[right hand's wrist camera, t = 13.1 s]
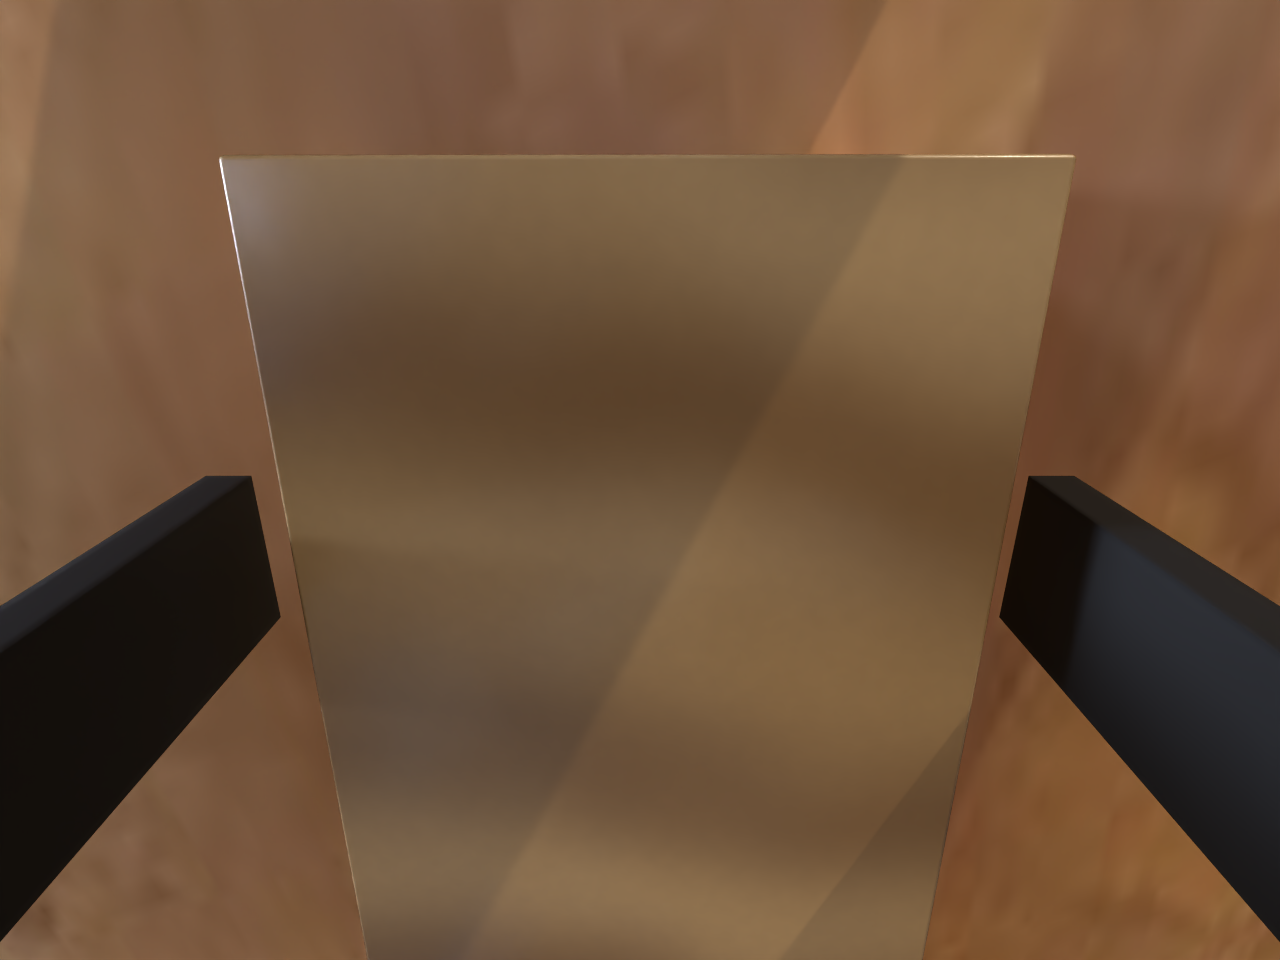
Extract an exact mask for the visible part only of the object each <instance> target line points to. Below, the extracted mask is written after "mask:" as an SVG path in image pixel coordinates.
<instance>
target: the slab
mask: <svg viewBox="0 0 1280 960" xmlns="http://www.w3.org/2000/svg"><path fill="white" fill-rule="evenodd" d="M219 162H220V167H221V173H222V178H223V184H224V189H225V194H226V200H227V205H228V210H229V216H230V221H231V227H232V232H233V237H234V243H235V248H236V254H237V259H238V264H239V270H240V275H241V280H242V286H243V291H244V297H245V302H246V307H247V313H248V318H249V324H250V329H251V334H252V340H253V345H254V351H255V356H256V361H257V367H258V372H259V377H260V383H261V388H262V394H263V399H264V404H265V410H266V415H267V421H268V426H269V431H270V437H271V442H272V447H273V453H274V458H275V464H276V469H277V474H278V480H279V485H280V491H281V496H282V501H283V507H284V512H285V517H286V523H287V528H288V534H289V539H290V544H291V550H292V555H293V561H294V566H295V571H296V577H297V582H298V588H299V593H300V598H301V604H302V609H303V614H304V620H305V625H306V631H307V636H308V641H309V647H310V652H311V658H312V663H313V668H314V674H315V679H316V684H317V690H318V695H319V701H320V706H321V711H322V717H323V722H324V728H325V733H326V738H327V744H328V749H329V754H330V760H331V765H332V771H333V776H334V781H335V787H336V792H337V798H338V803H339V808H340V814H341V819H342V824H343V830H344V835H345V841H346V846H347V851H348V857H349V862H350V868H351V873H352V878H353V884H354V889H355V895H356V900H357V905H358V911H359V916H360V921H361V927H362V932H363V938H364V943H365V948H366V954H367V959H368V960H923V955H924V950H925V944H926V939H927V934H928V929H929V923H930V918H931V913H932V908H933V903H934V897H935V892H936V887H937V882H938V877H939V871H940V866H941V861H942V856H943V850H944V845H945V840H946V835H947V830H948V824H949V819H950V814H951V809H952V803H953V798H954V793H955V788H956V783H957V777H958V772H959V767H960V762H961V757H962V751H963V746H964V741H965V736H966V730H967V725H968V720H969V715H970V710H971V704H972V699H973V694H974V689H975V683H976V678H977V673H978V668H979V663H980V657H981V652H982V647H983V642H984V637H985V631H986V626H987V621H988V616H989V610H990V605H991V600H992V595H993V590H994V584H995V579H996V574H997V569H998V563H999V558H1000V553H1001V548H1002V543H1003V537H1004V532H1005V527H1006V522H1007V517H1008V511H1009V506H1010V501H1011V496H1012V490H1013V485H1014V480H1015V475H1016V470H1017V464H1018V459H1019V454H1020V449H1021V443H1022V438H1023V433H1024V428H1025V423H1026V417H1027V412H1028V407H1029V402H1030V397H1031V391H1032V386H1033V381H1034V376H1035V370H1036V365H1037V360H1038V355H1039V350H1040V344H1041V339H1042V334H1043V329H1044V323H1045V318H1046V313H1047V308H1048V303H1049V297H1050V292H1051V287H1052V282H1053V277H1054V271H1055V266H1056V261H1057V256H1058V250H1059V245H1060V240H1061V235H1062V230H1063V224H1064V219H1065V214H1066V209H1067V203H1068V198H1069V193H1070V188H1071V183H1072V177H1073V172H1074V167H1075V162H1076V156H1074V155H1072V154H701V155H223V156H221V157H220V158H219Z"/></svg>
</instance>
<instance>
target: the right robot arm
mask: <svg viewBox="0 0 1280 960" xmlns="http://www.w3.org/2000/svg"><path fill="white" fill-rule="evenodd" d="M280 617H281V616H280V612H279V607H278V602H277V597H276V592H275V588H274V583H273V578H272V573H271V568H270V564H269V559H268V554H267V549H266V544H265V540H264V535H263V530H262V525H261V520H260V516H259V511H258V506H257V501H256V496H255V492H254V487H253V482H252V477H251V476H205V477H203V478H202V479H200V480H199V481H197V482H196V483H194V484H192V485H191V486H189V487H188V488H186V489H185V490H183V491H181V492H180V493H178V494H177V495H175V496H173V497H172V498H170V499H169V500H167V501H166V502H164V503H162V504H161V505H159V506H158V507H156V508H155V509H153V510H151V511H150V512H148V513H147V514H145V515H143V516H142V517H140V518H139V519H137V520H136V521H134V522H132V523H131V524H129V525H128V526H126V527H125V528H123V529H121V530H120V531H118V532H117V533H115V534H113V535H112V536H110V537H109V538H107V539H106V540H104V541H102V542H101V543H99V544H98V545H96V546H95V547H93V548H91V549H90V550H88V551H87V552H85V553H83V554H82V555H80V556H79V557H77V558H76V559H74V560H72V561H71V562H69V563H68V564H66V565H65V566H63V567H61V568H60V569H58V570H57V571H55V572H54V573H52V574H50V575H49V576H47V577H46V578H44V579H42V580H41V581H39V582H38V583H36V584H35V585H33V586H31V587H30V588H28V589H27V590H25V591H24V592H22V593H20V594H19V595H17V596H16V597H14V598H12V599H11V600H9V601H8V602H6V603H5V604H3V605H1V606H0V942H1V940H2V939H3V938H4V937H5V936H6V935H7V933H8V932H9V931H10V930H11V929H12V928H13V926H14V925H15V924H16V923H17V922H18V921H19V920H20V918H21V917H22V916H23V915H24V914H25V913H26V911H27V910H28V909H29V908H30V907H31V906H32V904H33V903H34V902H35V901H36V900H37V899H38V898H39V896H40V895H41V894H42V893H43V892H44V891H45V889H46V888H47V887H48V886H49V885H50V884H51V882H52V881H53V880H54V879H55V878H56V877H57V876H58V874H59V873H60V872H61V871H62V870H63V869H64V867H65V866H66V865H67V864H68V863H69V862H70V860H71V859H72V858H73V857H74V856H75V855H76V854H77V852H78V851H79V850H80V849H81V848H82V847H83V845H84V844H85V843H86V842H87V841H88V840H89V838H90V837H91V836H92V835H93V834H94V833H95V831H96V830H97V829H98V828H99V827H100V826H101V825H102V823H103V822H104V821H105V820H106V819H107V818H108V816H109V815H110V814H111V813H112V812H113V811H114V809H115V808H116V807H117V806H118V805H119V804H120V803H121V801H122V800H123V799H124V798H125V797H126V796H127V794H128V793H129V792H130V791H131V790H132V789H133V787H134V786H135V785H136V784H137V783H138V782H139V781H140V779H141V778H142V777H143V776H144V775H145V774H146V772H147V771H148V770H149V769H150V768H151V767H152V765H153V764H154V763H155V762H156V761H157V760H158V759H159V757H160V756H161V755H162V754H163V753H164V752H165V750H166V749H167V748H168V747H169V746H170V745H171V743H172V742H173V741H174V740H175V739H176V738H177V737H178V735H179V734H180V733H181V732H182V731H183V730H184V728H185V727H186V726H187V725H188V724H189V723H190V721H191V720H192V719H193V718H194V717H195V716H196V715H197V713H198V712H199V711H200V710H201V709H202V708H203V706H204V705H205V704H206V703H207V702H208V701H209V699H210V698H211V697H212V696H213V695H214V694H215V693H216V691H217V690H218V689H219V688H220V687H221V686H222V684H223V683H224V682H225V681H226V680H227V679H228V677H229V676H230V675H231V674H232V673H233V672H234V671H235V669H236V668H237V667H238V666H239V665H240V664H241V662H242V661H243V660H244V659H245V658H246V657H247V655H248V654H249V653H250V652H251V651H252V650H253V649H254V647H255V646H256V645H257V644H258V643H259V642H260V640H261V639H262V638H263V637H264V636H265V635H266V633H267V632H268V631H269V630H270V629H271V628H272V627H273V625H274V624H275V623H276V622H277V621H278V620H279V618H280ZM999 617H1000V618H1001V620H1002V621H1003V622H1004V623H1005V624H1006V625H1007V627H1008V628H1009V629H1010V630H1011V631H1012V632H1013V633H1014V635H1015V636H1016V637H1017V638H1018V639H1019V640H1020V642H1021V643H1022V644H1023V645H1024V646H1025V647H1026V649H1027V650H1028V651H1029V652H1030V653H1031V654H1032V655H1033V657H1034V658H1035V659H1036V660H1037V661H1038V662H1039V664H1040V665H1041V666H1042V667H1043V668H1044V669H1045V671H1046V672H1047V673H1048V674H1049V675H1050V676H1051V677H1052V679H1053V680H1054V681H1055V682H1056V683H1057V684H1058V686H1059V687H1060V688H1061V689H1062V690H1063V691H1064V693H1065V694H1066V695H1067V696H1068V697H1069V698H1070V699H1071V701H1072V702H1073V703H1074V704H1075V705H1076V706H1077V708H1078V709H1079V710H1080V711H1081V712H1082V713H1083V715H1084V716H1085V717H1086V718H1087V719H1088V720H1089V721H1090V723H1091V724H1092V725H1093V726H1094V727H1095V728H1096V730H1097V731H1098V732H1099V733H1100V734H1101V735H1102V737H1103V738H1104V739H1105V740H1106V741H1107V742H1108V743H1109V745H1110V746H1111V747H1112V748H1113V749H1114V750H1115V752H1116V753H1117V754H1118V755H1119V756H1120V757H1121V759H1122V760H1123V761H1124V762H1125V763H1126V764H1127V765H1128V767H1129V768H1130V769H1131V770H1132V771H1133V772H1134V774H1135V775H1136V776H1137V777H1138V778H1139V779H1140V781H1141V782H1142V783H1143V784H1144V785H1145V786H1146V787H1147V789H1148V790H1149V791H1150V792H1151V793H1152V794H1153V796H1154V797H1155V798H1156V799H1157V800H1158V801H1159V803H1160V804H1161V805H1162V806H1163V807H1164V808H1165V809H1166V811H1167V812H1168V813H1169V814H1170V815H1171V816H1172V818H1173V819H1174V820H1175V821H1176V822H1177V823H1178V825H1179V826H1180V827H1181V828H1182V829H1183V830H1184V832H1185V833H1186V834H1187V835H1188V836H1189V837H1190V838H1191V840H1192V841H1193V842H1194V843H1195V844H1196V845H1197V847H1198V848H1199V849H1200V850H1201V851H1202V852H1203V854H1204V855H1205V856H1206V857H1207V858H1208V859H1209V860H1210V862H1211V863H1212V864H1213V865H1214V866H1215V867H1216V869H1217V870H1218V871H1219V872H1220V873H1221V874H1222V876H1223V877H1224V878H1225V879H1226V880H1227V881H1228V882H1229V884H1230V885H1231V886H1232V887H1233V888H1234V889H1235V891H1236V892H1237V893H1238V894H1239V895H1240V896H1241V898H1242V899H1243V900H1244V901H1245V902H1246V903H1247V904H1248V906H1249V907H1250V908H1251V909H1252V910H1253V911H1254V913H1255V914H1256V915H1257V916H1258V917H1259V918H1260V920H1261V921H1262V922H1263V923H1264V924H1265V925H1266V926H1267V928H1268V929H1269V930H1270V931H1271V932H1272V933H1273V935H1274V936H1275V937H1276V938H1277V939H1278V940H1279V942H1280V606H1279V605H1277V604H1275V603H1274V602H1272V601H1271V600H1269V599H1268V598H1266V597H1264V596H1263V595H1261V594H1260V593H1258V592H1256V591H1255V590H1253V589H1252V588H1250V587H1249V586H1247V585H1245V584H1244V583H1242V582H1241V581H1239V580H1238V579H1236V578H1234V577H1233V576H1231V575H1230V574H1228V573H1226V572H1225V571H1223V570H1222V569H1220V568H1219V567H1217V566H1215V565H1214V564H1212V563H1211V562H1209V561H1208V560H1206V559H1204V558H1203V557H1201V556H1200V555H1198V554H1196V553H1195V552H1193V551H1192V550H1190V549H1189V548H1187V547H1185V546H1184V545H1182V544H1181V543H1179V542H1178V541H1176V540H1174V539H1173V538H1171V537H1170V536H1168V535H1167V534H1165V533H1163V532H1162V531H1160V530H1159V529H1157V528H1155V527H1154V526H1152V525H1151V524H1149V523H1148V522H1146V521H1144V520H1143V519H1141V518H1140V517H1138V516H1137V515H1135V514H1133V513H1132V512H1130V511H1129V510H1127V509H1125V508H1124V507H1122V506H1121V505H1119V504H1118V503H1116V502H1114V501H1113V500H1111V499H1110V498H1108V497H1107V496H1105V495H1103V494H1102V493H1100V492H1099V491H1097V490H1095V489H1094V488H1092V487H1091V486H1089V485H1088V484H1086V483H1084V482H1083V481H1081V480H1080V479H1078V478H1077V477H1075V476H1029V477H1028V482H1027V487H1026V492H1025V496H1024V501H1023V506H1022V511H1021V516H1020V520H1019V525H1018V530H1017V535H1016V540H1015V544H1014V549H1013V554H1012V559H1011V564H1010V568H1009V573H1008V578H1007V583H1006V588H1005V592H1004V597H1003V602H1002V607H1001V612H1000V616H999Z"/></svg>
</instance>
